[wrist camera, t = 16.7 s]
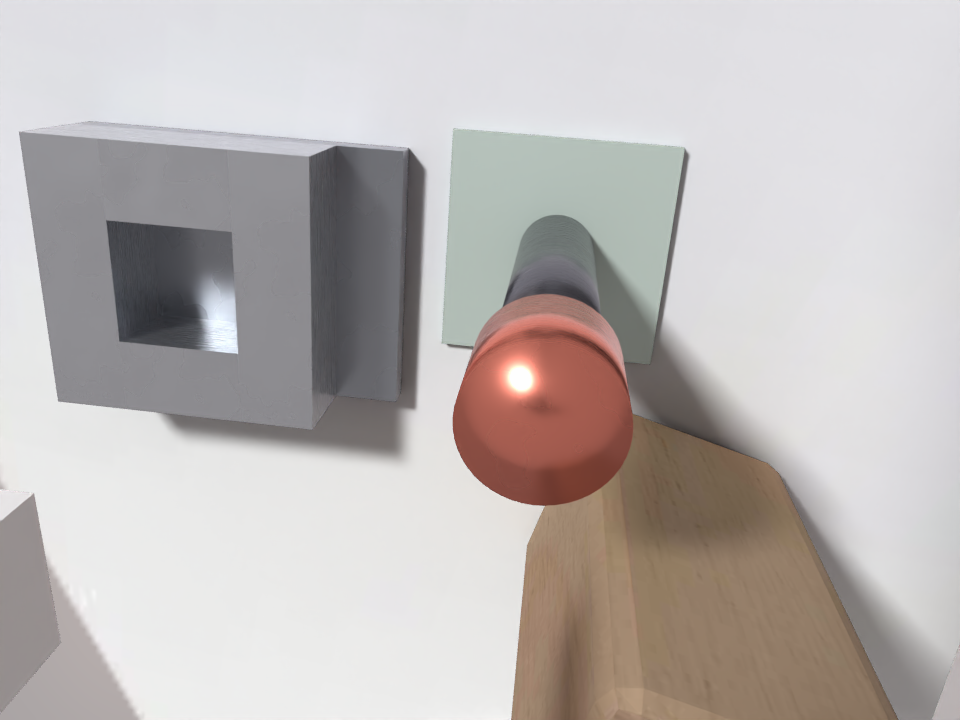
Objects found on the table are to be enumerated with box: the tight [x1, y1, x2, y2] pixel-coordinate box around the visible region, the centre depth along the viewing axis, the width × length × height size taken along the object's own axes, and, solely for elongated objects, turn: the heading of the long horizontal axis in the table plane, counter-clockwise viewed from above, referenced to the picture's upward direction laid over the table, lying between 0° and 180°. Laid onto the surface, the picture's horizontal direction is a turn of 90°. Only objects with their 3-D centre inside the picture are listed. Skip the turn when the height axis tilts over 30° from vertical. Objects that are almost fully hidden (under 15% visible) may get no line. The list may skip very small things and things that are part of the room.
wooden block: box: [511, 414, 898, 720], centre depth 31 cm, size 10×10×20 cm
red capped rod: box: [453, 215, 633, 506], centre depth 28 cm, size 4×4×18 cm
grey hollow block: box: [19, 121, 409, 430], centre depth 36 cm, size 12×15×5 cm
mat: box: [442, 129, 685, 365], centre depth 36 cm, size 10×10×1 cm
